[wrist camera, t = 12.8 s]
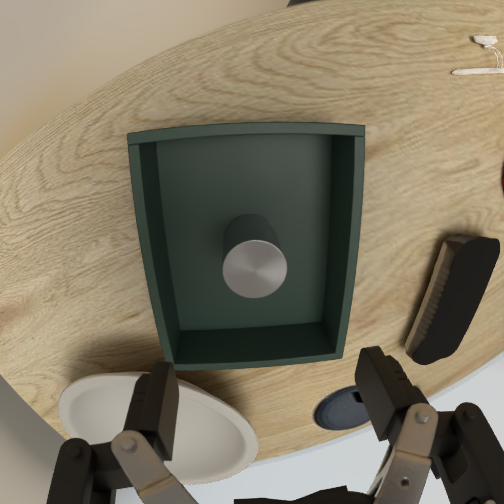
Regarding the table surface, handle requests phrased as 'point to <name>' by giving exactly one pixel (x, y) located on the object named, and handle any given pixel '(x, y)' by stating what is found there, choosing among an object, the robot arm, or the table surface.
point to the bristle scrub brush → (452, 297)
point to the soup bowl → (186, 433)
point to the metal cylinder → (252, 257)
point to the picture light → (486, 42)
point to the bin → (242, 203)
